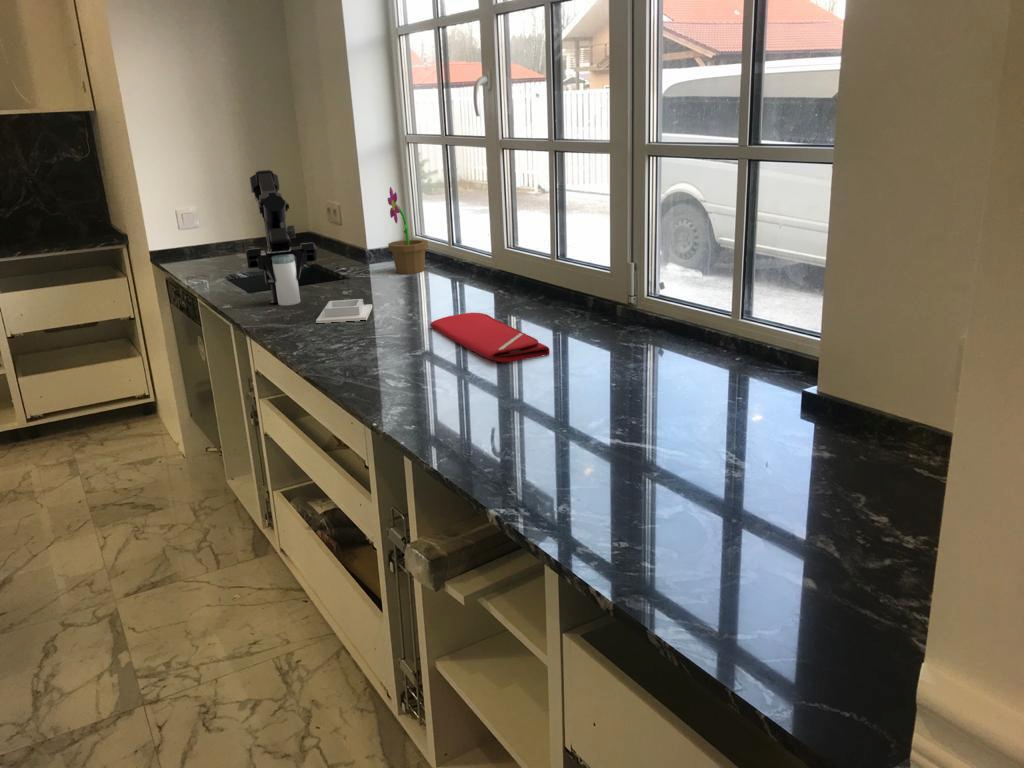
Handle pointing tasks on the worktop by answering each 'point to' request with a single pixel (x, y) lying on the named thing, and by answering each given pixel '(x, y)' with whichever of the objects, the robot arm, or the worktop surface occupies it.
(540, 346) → the folded red towel
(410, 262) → the flowerpot
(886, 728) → the worktop surface
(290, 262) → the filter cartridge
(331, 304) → the white square stand
